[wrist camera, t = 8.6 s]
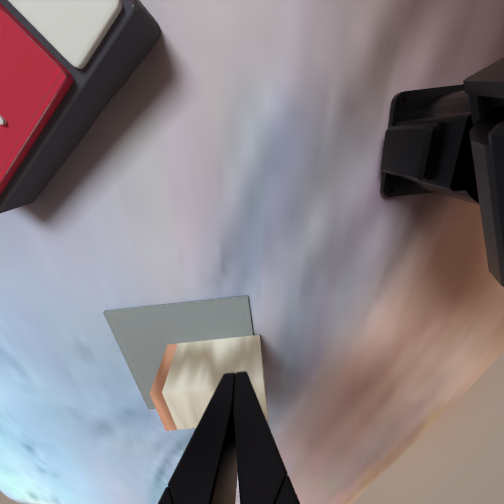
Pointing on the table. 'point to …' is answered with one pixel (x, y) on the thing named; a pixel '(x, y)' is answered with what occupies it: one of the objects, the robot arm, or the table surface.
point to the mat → (173, 331)
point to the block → (203, 377)
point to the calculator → (60, 80)
